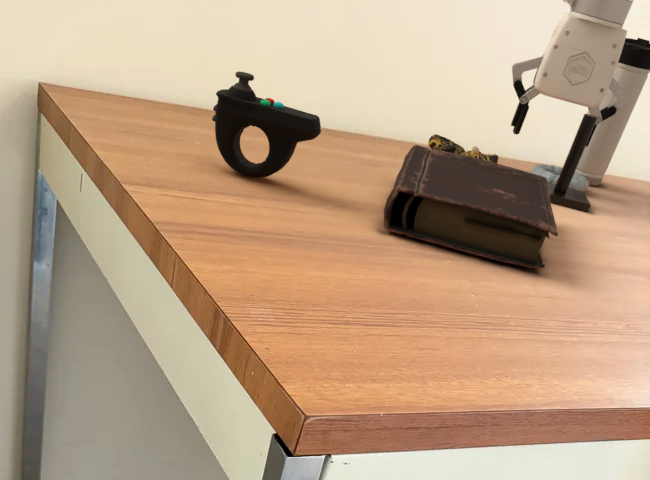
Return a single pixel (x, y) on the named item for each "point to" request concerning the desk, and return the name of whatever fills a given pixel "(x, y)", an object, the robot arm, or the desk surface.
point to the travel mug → (631, 77)
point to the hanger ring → (553, 175)
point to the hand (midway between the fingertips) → (546, 141)
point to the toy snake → (458, 148)
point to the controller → (271, 117)
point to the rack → (573, 170)
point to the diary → (471, 206)
